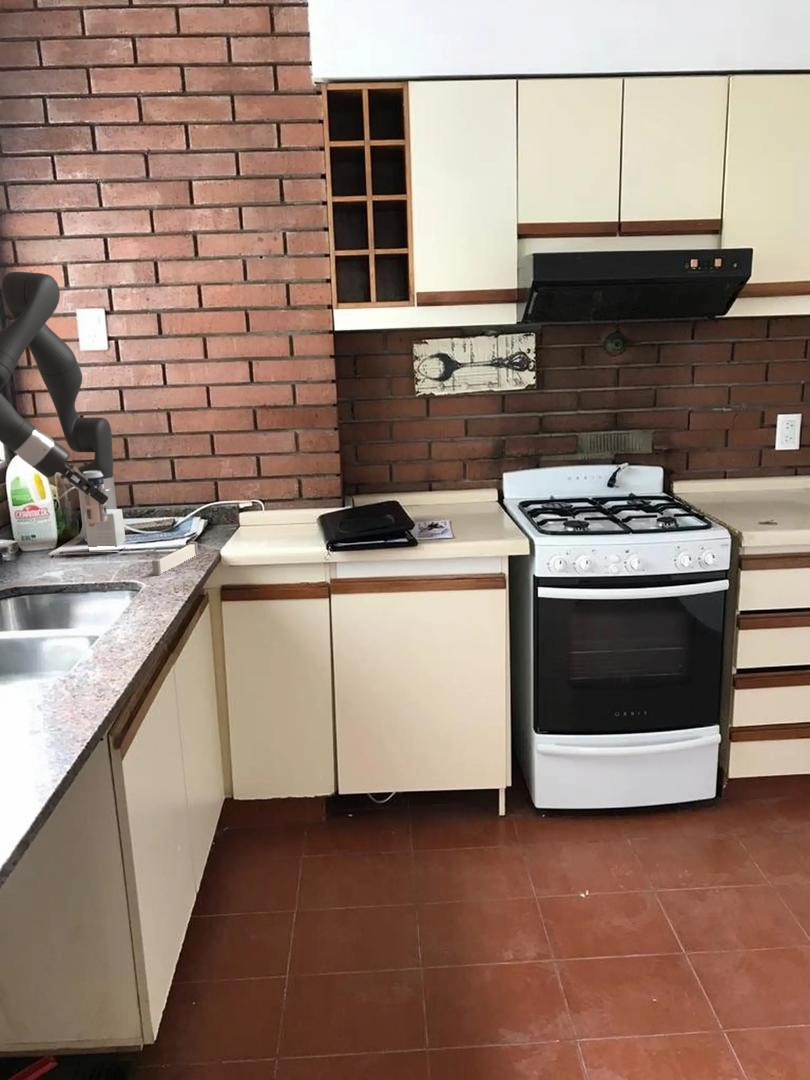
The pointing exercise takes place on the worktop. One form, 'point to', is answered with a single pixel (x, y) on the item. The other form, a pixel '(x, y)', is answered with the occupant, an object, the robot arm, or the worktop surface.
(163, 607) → the worktop surface
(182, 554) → the rail
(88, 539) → the small box
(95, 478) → the beige blue canister
